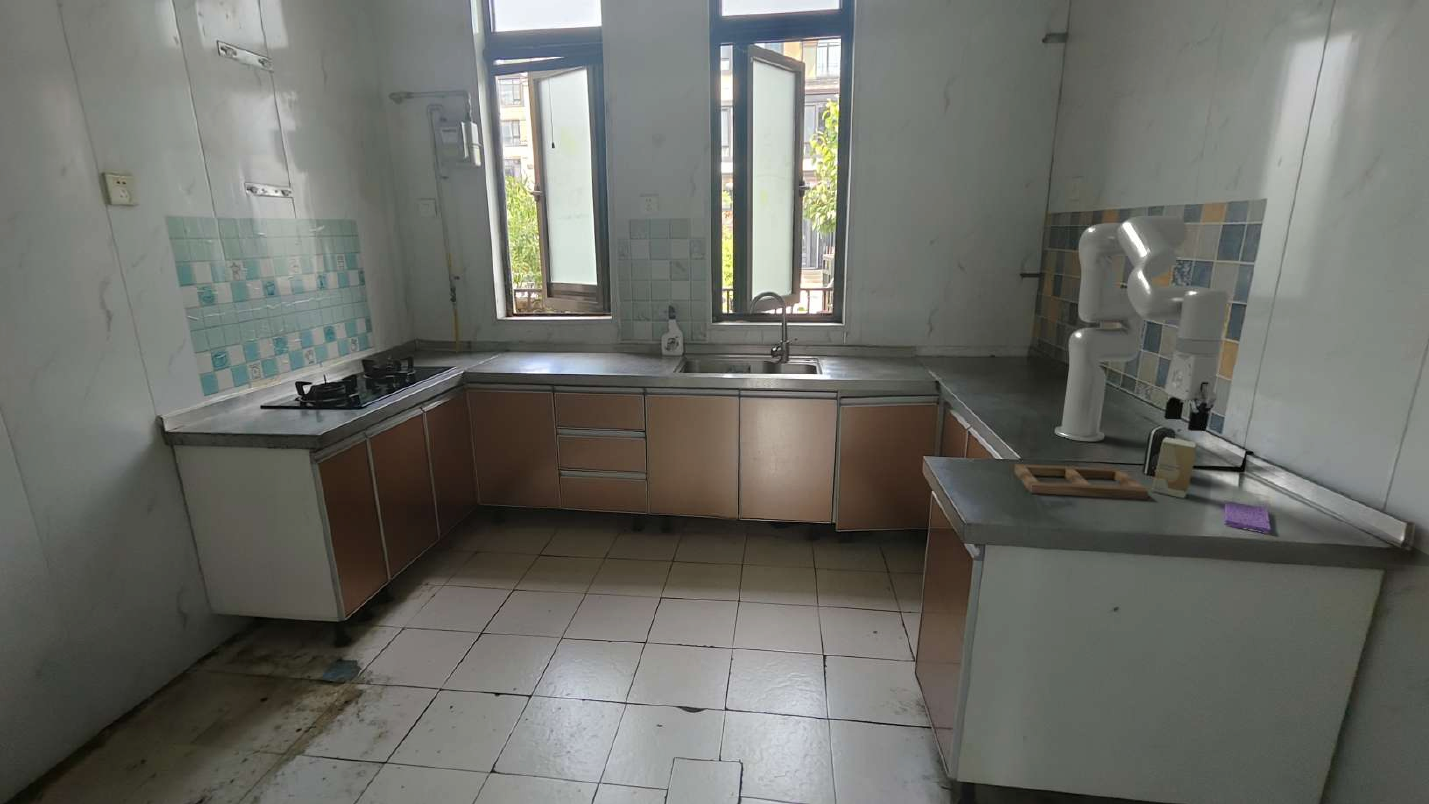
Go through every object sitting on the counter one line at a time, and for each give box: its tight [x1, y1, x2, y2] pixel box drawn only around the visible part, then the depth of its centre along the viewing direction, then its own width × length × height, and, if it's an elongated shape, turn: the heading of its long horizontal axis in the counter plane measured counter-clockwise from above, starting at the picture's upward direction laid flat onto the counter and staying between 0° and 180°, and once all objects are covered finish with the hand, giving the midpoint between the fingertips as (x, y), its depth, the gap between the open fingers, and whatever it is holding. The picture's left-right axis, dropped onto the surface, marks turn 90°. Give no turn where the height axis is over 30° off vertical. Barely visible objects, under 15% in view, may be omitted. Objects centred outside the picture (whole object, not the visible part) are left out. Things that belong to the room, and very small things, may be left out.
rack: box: [1013, 463, 1149, 500], centre depth 148 cm, size 14×24×2 cm, turn 80°
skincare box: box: [1151, 437, 1199, 499], centre depth 142 cm, size 6×4×12 cm
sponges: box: [1223, 500, 1271, 534], centre depth 129 cm, size 7×13×2 cm, turn 142°
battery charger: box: [1142, 426, 1176, 476], centre depth 154 cm, size 7×4×11 cm, turn 124°
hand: (1184, 424), depth 139 cm, fingers open, 9 cm apart
